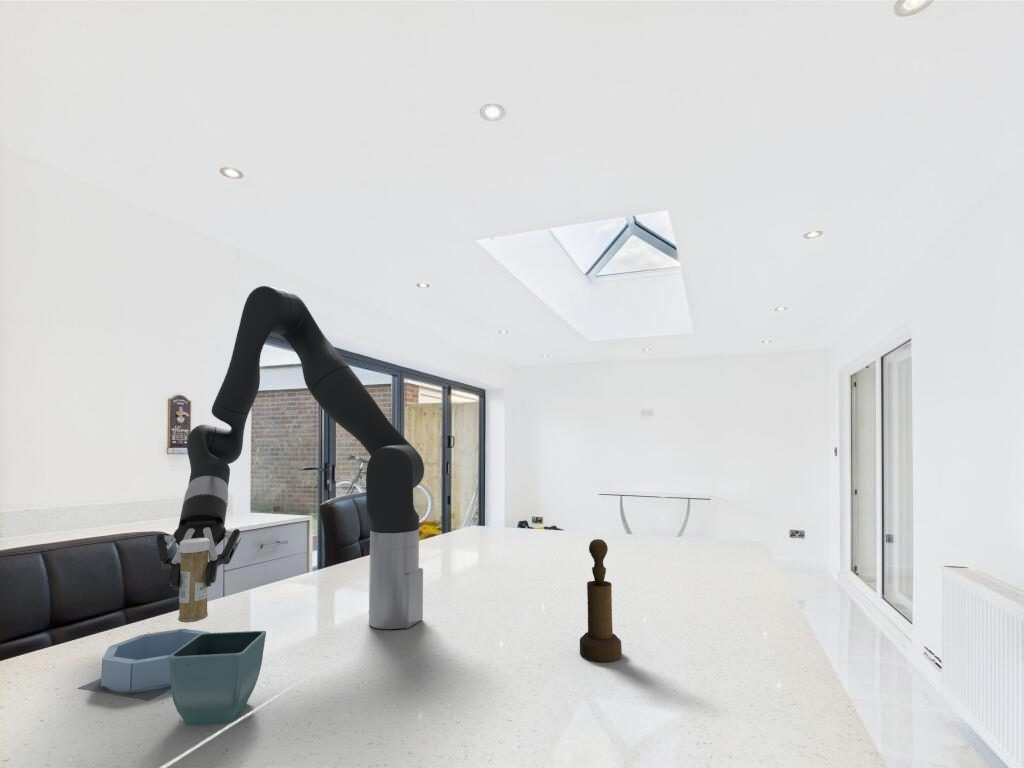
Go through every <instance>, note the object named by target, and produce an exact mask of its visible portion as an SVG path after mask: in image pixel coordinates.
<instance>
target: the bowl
mask: <svg viewBox="0 0 1024 768" xmlns="http://www.w3.org/2000/svg"><path fill="white" fill-rule="evenodd" d="M202 633H211V632H210V631H206V630H205V631H204V630H196V629H187V628H179V629H173V630H171V629H170V630H164V631H157V632H156V631H155V632H152V633H150V632H149V633H144V634H140V635H138V636H135V637H131V638H129V639H126V640H123V641H120V642H117V643H115V644H112V645H109V646H108V647H107V650H106V651H105V653H104V655H103V657H102V659H101V676H100V677H101V678H100V679H101V686H104V687H105V688H106V689H107V690H109V691H112V692H116V693H142V692H150V691H155V690H161V689H165V688H169V687H171V683H170V672H169V661H168V657H169V656H170V655H171V654H172V653H173V652H175V651H176V650H178V649H179V648H181V647H182V646H183V645H185V644H186V643H188V642H189V641H190V640H192V639H193V638H194V637H196V636H197V635H199V634H202Z"/></svg>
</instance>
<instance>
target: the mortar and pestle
mask: <svg viewBox="0 0 1024 768" xmlns="http://www.w3.org/2000/svg"><path fill="white" fill-rule="evenodd" d="M608 549H609V548H608V543H606V541H605V540H603V539H599V538H595V539H593V540H591V541H590V543H589V545H588V551H589V553H590V556H591V557H592V559H593V562H594V564H593V566H592V568H591V571H592V576H593V578H594V579H593V580H590V581H587V582H586V591H587V596H586V597H587V632H584V634H583V635H581V636H580V638H579V655H580V656H581V657H582V658H584V659H586V660H589V661H594V662H599V663H609V662H615V661H619V659H621V658H622V653H623V651H622V640H621V638H619V637H618V636H617V635H616V634H615V633H613V597H612V595H613V594H612V592H613V591H612V586H613V585H612V583H611V582H610V581H606V580H605V579H606V578H605V577H606V572H607V568H606V567H605V565H604V560H605V558H606V556H607V553H608Z"/></svg>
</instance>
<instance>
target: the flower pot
mask: <svg viewBox="0 0 1024 768" xmlns="http://www.w3.org/2000/svg"><path fill="white" fill-rule="evenodd" d="M266 635H267V631H266V630H251V631H250V630H249V631H248V630H247V631H225V632H210V633H202V634H199V635H197V636H196V637H194V638H193V639H192V640H190V641H189V642H188V643H186V644H185V645H183V646H182V647H181V648H179V649H178V650H176V651H175V652H173V653H172V654H171V655H170V656H169V657H168V661H169V672H170V683H171V690H170V691H171V697H172V702H173V704H174V707H175V709H176V711H177V713H178V714H179V716H180V717H181V718H182V719H183V722H185V723H186V724H187V725H189V726H190V725H205V724H206V725H207V724H227V723H231V722H232V721H234V720H235V718H236V717H237V715H238V714H239V713H240V712H241V711H242V710H243V709H244V707H246V705H247V703H248V701H249V699H250V697H251V696H252V694H253V692H254V689H255V688H256V685H257V682H258V679H259V676H260V673H261V667H262V664H263V663H262V662H263V657H264V651H265V644H266V643H265V642H266Z"/></svg>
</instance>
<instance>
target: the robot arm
mask: <svg viewBox="0 0 1024 768" xmlns="http://www.w3.org/2000/svg"><path fill="white" fill-rule="evenodd" d="M271 333H274V334H277V335H280V336H281V337H282V338H283V339H284V340H285V342H287V343H288V344H289V346H290V347H291V349H293V351H294V352H295V354H296V355H297V357H298V359H299V361H300V365H301V369H302V376H303V379H304V383H305V386H306V388H307V389H308V391H309V393H310V394H311V395H312V397H313V398H314V400H316V403H317V404H318V405H319V406H320V408H321V409H322V410H323V411H324V412H325V413H326V415H328V417H330V418H331V419H332V420H333V421H334V422H335V423H336V424H338V425H339V426H340V427H341V428H342V429H344V430H345V431H346V432H347V433H349V434H350V435H351V436H353V437H354V438H355V439H356V440H358V442H359V443H360V444H361V445H362V447H364V448H365V449H366V451H367V453H368V454H369V456H370V458H369V459H368V462H367V466H366V473H365V488H366V489H365V493H366V494H365V496H366V497H365V499H366V513H367V517H368V519H369V525H370V526H369V530H370V532H369V581H368V582H369V584H368V590H369V591H368V592H369V593H368V624H369V626H370V627H372V628H375V629H381V630H394V629H395V630H396V629H397V630H398V629H409V628H411V627H413V626H414V625H416V624H417V623H418V622H420V621H421V620H423V619H424V617H423V616H424V612H423V611H424V609H423V608H424V607H423V606H424V605H423V604H424V569H423V568H422V567H420V561H419V560H420V515H419V513H418V511H416V510H415V506H414V505H415V503H414V489H415V488H416V487H418V486H419V484H421V482H422V481H423V478H424V475H425V464H424V460H423V459H422V456H421V454H420V453H419V452H418V450H417V449H416V448H415V447H413V445H412V444H411V443H410V442H409V441H408V440H407V439H406V438H405V437H404V436H403V435H402V433H400V432H399V430H398V429H397V428H395V426H394V425H393V424H392V423H391V422H390V421H389V419H388V418H387V416H386V415H385V414H384V412H383V411H382V410H381V407H380V406H379V405H378V404H377V402H376V401H375V399H374V398H373V397H372V395H371V394H370V393H369V391H368V390H367V389H366V387H365V386H364V384H363V383H362V382H361V380H360V378H359V377H358V376H357V374H356V373H355V372H354V371H353V369H352V368H351V367H350V365H349V364H348V363H347V362H346V361H345V360H344V359H343V358H342V356H341V354H340V353H339V352H338V351H337V349H336V348H335V347H334V345H332V343H331V342H330V341H329V339H328V338H327V337H326V336H325V334H324V333H323V331H322V330H321V328H320V327H319V326H318V323H317V322H316V320H315V319H314V317H313V316H312V314H311V312H310V310H309V307H307V305H306V304H305V302H304V301H303V300H302V299H301V297H299V296H298V295H297V294H296V293H294V292H291V291H289V290H285V289H282V288H279V287H278V288H277V287H274V286H270V285H261V286H258V287H256V288H254V289H253V290H252V291H251V292H250V293H249V294H248V296H247V298H246V301H245V303H244V305H243V309H242V312H241V317H240V321H239V325H238V329H237V333H236V337H235V341H234V346H233V351H232V354H231V358H230V362H229V365H228V368H227V372H226V374H225V376H224V378H223V381H222V383H221V386H220V388H219V390H218V392H217V394H216V397H215V400H214V401H213V404H212V407H211V414H212V416H213V417H215V418H216V419H217V420H219V421H220V422H223V423H225V424H227V425H228V426H229V427H230V430H228V429H225V428H221V427H217V426H214V425H210V424H209V425H208V424H200V425H197V426H195V427H194V428H193V429H192V430H190V433H189V434H188V436H187V441H186V451H187V456H188V460H189V465H190V475H189V481H188V485H187V489H186V491H185V493H184V497H183V502H182V508H181V512H180V516H179V517H180V518H179V523H178V527H177V528H176V530H175V531H174V532H173V533H172V534H169V535H166V536H165V535H164V534H158V535H157V536H156V543H157V548H158V555H159V559H160V563H161V567H162V569H163V570H170V572H169V575H168V582H169V586H170V588H172V590H173V591H177V590H179V583H180V564H181V555H180V553H181V552H180V542H181V541H183V540H187V539H193V538H208V539H209V540H210V549H209V550H208V551H209V552H208V565H207V572H206V579H205V582H206V587H212V584H215V582H216V581H217V573H218V569H219V567H220V566H221V565H228V564H230V563H231V561H232V558H233V557H234V555H235V552H236V550H237V548H238V546H239V544H240V542H241V540H242V539H241V530H240V529H237V528H235V529H233V531H232V530H227V529H226V527H225V525H226V524H225V523H226V517H227V508H228V506H229V483H230V477H231V476H230V474H231V468H230V465H229V464H232V463H234V462H236V461H237V460H238V459H239V458H240V456H241V454H242V452H243V444H244V435H245V434H244V433H245V428H246V422H247V420H248V416H249V414H250V411H251V409H252V407H253V404H254V402H255V400H256V398H257V395H258V392H259V389H260V384H261V383H260V382H261V369H260V368H261V367H260V365H261V363H260V362H261V354H262V351H263V348H264V347H265V346H264V345H265V343H266V342H267V339H269V336H270V335H271ZM224 539H226V545H225V546H224V548H223V549H222V553H219V554H218V553H217V549H216V547H217V546H218V545H219V544H220V543H221V542H222V541H223V540H224ZM174 542H175V543H176V544H177V546H178V547H177V550H176V553H175V555H174V556H173V557H172V558H171V557H169V553H168V550H170V548H171V547H172V544H173V543H174Z"/></svg>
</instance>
